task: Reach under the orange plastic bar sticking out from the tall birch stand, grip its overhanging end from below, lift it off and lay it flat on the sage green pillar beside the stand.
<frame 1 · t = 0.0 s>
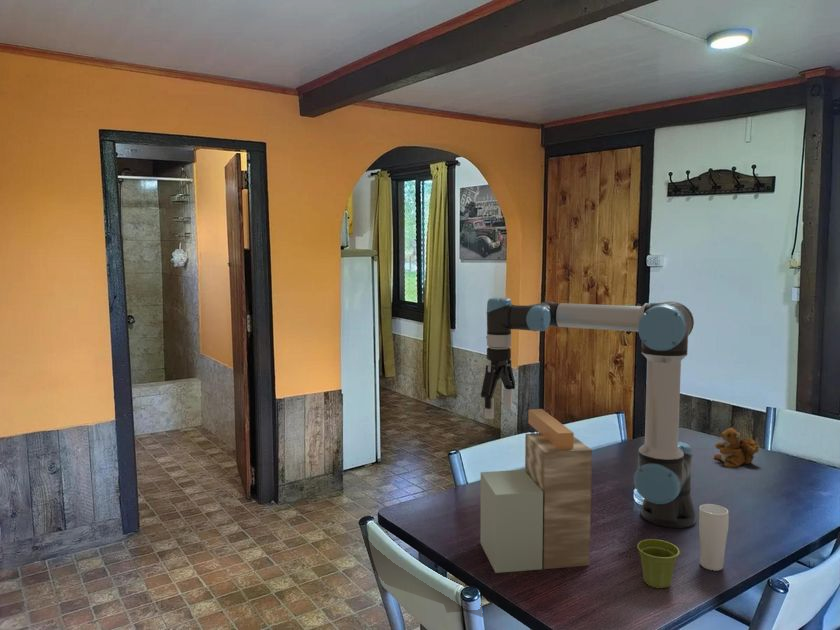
hand: (498, 413, 198), 28 cm above the table, tool pointing down, fingers open, 13 cm apart
plant pot: (657, 583, 150), on the table
stuffed squirrel: (735, 463, 233), on the table
tall stand: (555, 552, 166), on the table
orange bar: (549, 434, 168), point 30 cm above the table, touching tall stand
drinking glass: (711, 567, 157), on the table
sage green pillar: (510, 555, 164), on the table
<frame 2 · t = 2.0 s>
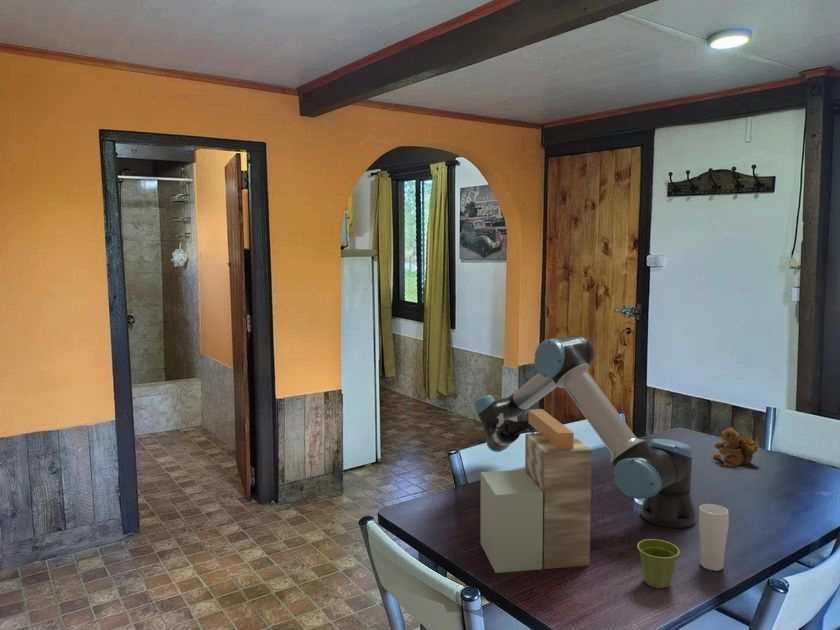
hand: (523, 416, 191), 29 cm above the table, tool pointing upward, fingers open, 13 cm apart
nothing on the table moved.
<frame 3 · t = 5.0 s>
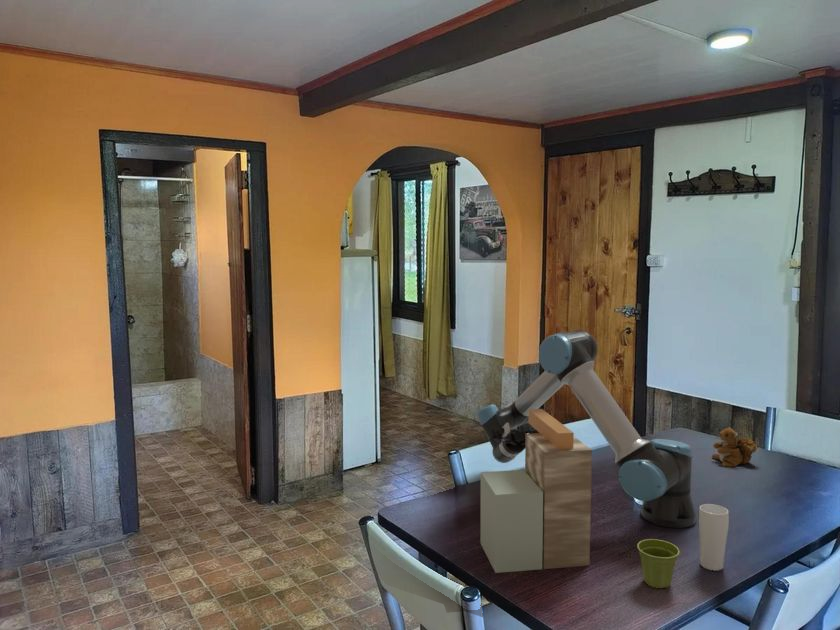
hand: (530, 426, 183), 28 cm above the table, tool pointing upward, fingers open, 13 cm apart
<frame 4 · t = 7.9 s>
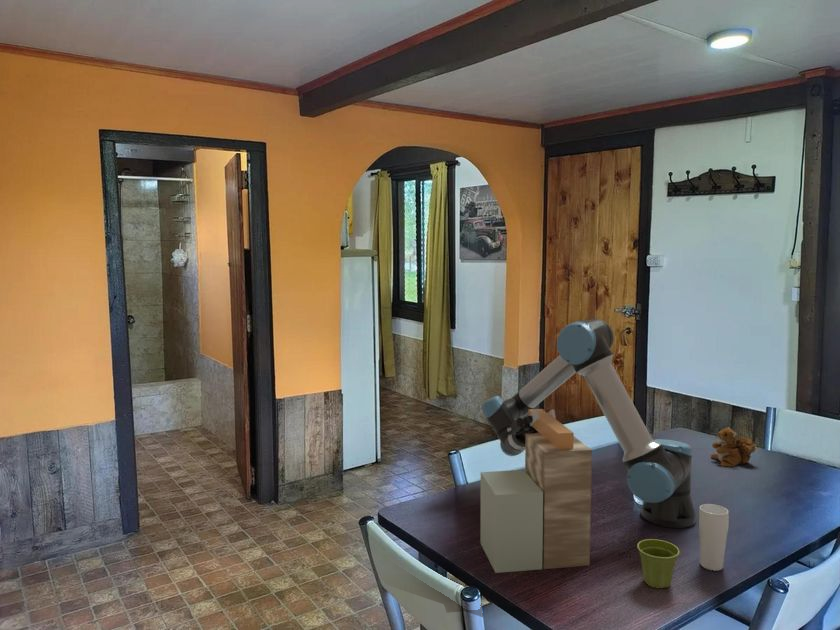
hand: (545, 414, 171), 35 cm above the table, tool pointing upward, fingers closed on orange bar, 4 cm apart
orange bar: (549, 434, 168), point 30 cm above the table, touching gripper, tall stand
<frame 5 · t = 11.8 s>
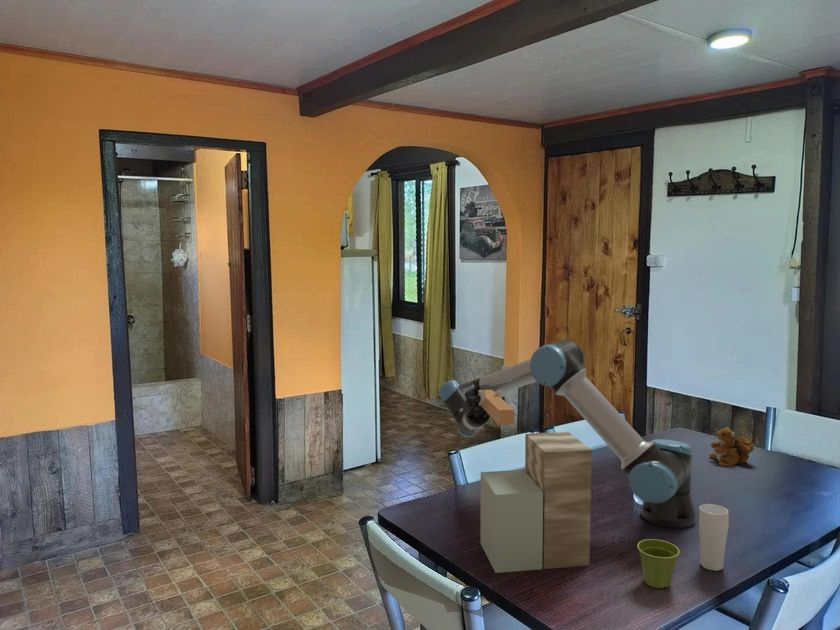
hand: (492, 394, 179), 39 cm above the table, tool pointing upward, fingers closed on orange bar, 4 cm apart
orange bar: (495, 413, 176), point 34 cm above the table, touching gripper
when the fingers open (27 cm above the table, at t = 16.1 s): orange bar drops 2 cm, resting on sage green pillar.
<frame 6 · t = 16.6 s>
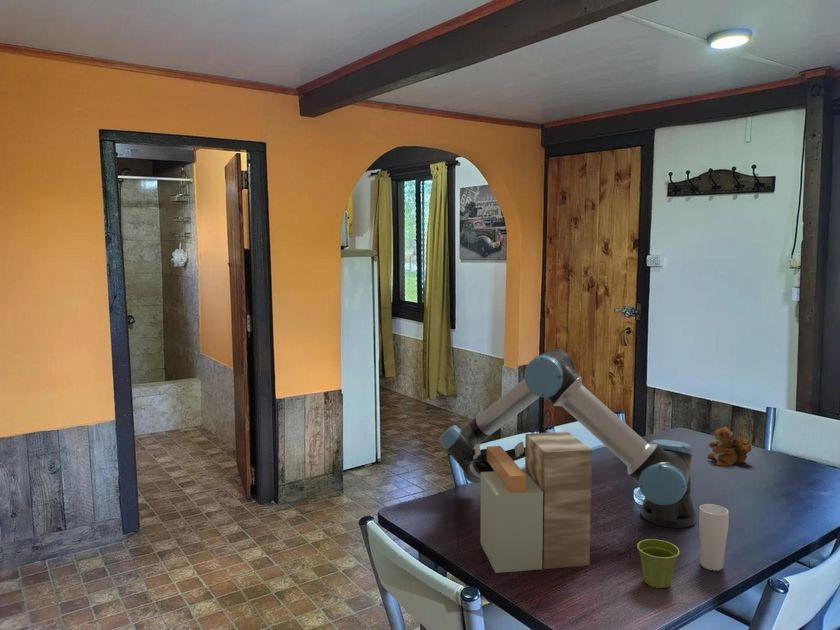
hand: (500, 447, 171), 26 cm above the table, tool pointing upward, fingers open, 11 cm apart
orange bar: (504, 474, 167), point 20 cm above the table, touching sage green pillar
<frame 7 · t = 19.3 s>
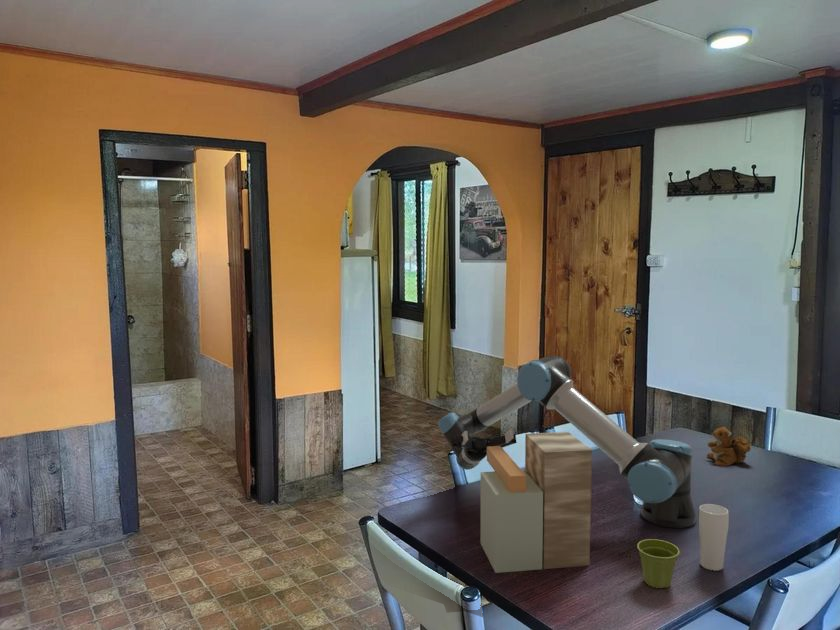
hand: (489, 434, 183), 26 cm above the table, tool pointing upward, fingers open, 13 cm apart
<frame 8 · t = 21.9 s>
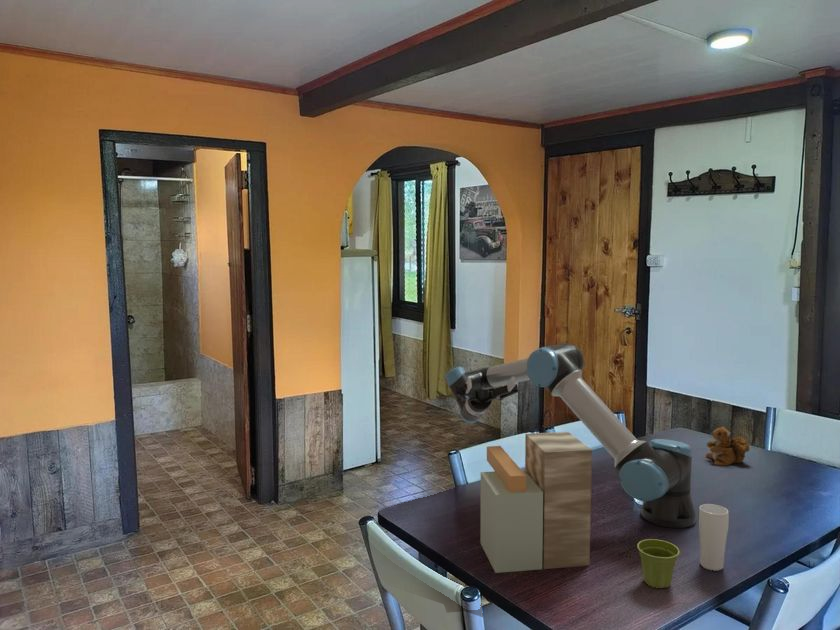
hand: (492, 381, 191), 40 cm above the table, tool pointing upward, fingers open, 13 cm apart
at the end: orange bar inside the target area (0.3 cm from its centre), point 20.0 cm above the table; orange bar tilted 0°; the gripper is holding nothing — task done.
